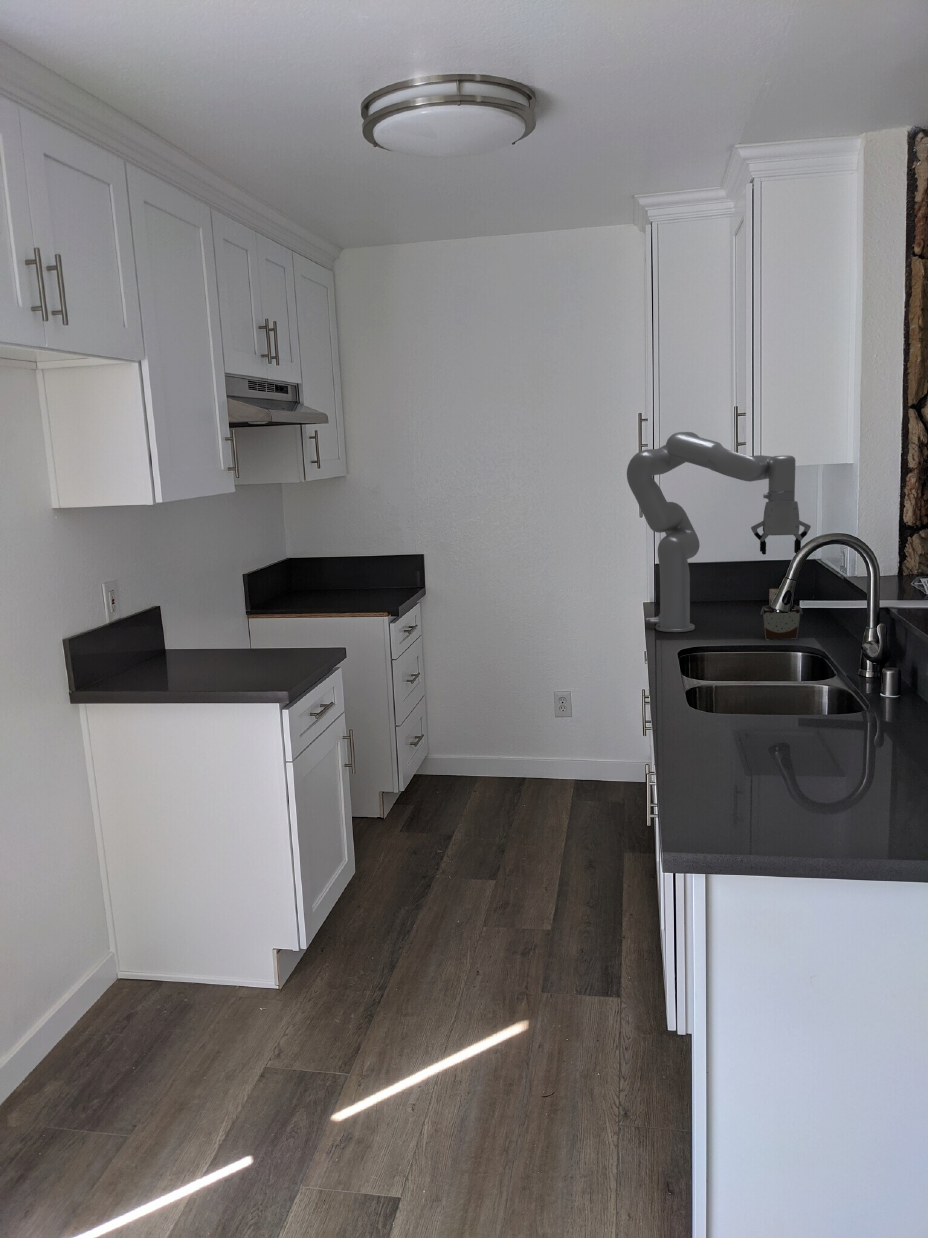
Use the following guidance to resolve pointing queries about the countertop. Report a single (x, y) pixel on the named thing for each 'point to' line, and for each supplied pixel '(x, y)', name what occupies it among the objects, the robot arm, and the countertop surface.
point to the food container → (781, 623)
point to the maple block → (772, 595)
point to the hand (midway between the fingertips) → (780, 553)
